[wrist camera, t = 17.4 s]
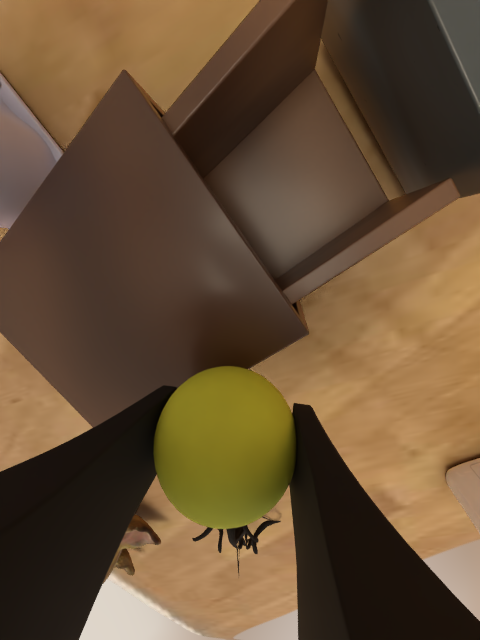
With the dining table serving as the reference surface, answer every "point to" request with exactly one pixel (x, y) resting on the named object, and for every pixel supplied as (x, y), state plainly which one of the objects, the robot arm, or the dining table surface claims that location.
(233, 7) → the dining table surface
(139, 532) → the ceramic sculpture
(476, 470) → the photo printer
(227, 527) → the ball
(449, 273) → the dining table surface
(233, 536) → the creature
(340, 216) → the drawer
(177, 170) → the cabinet
